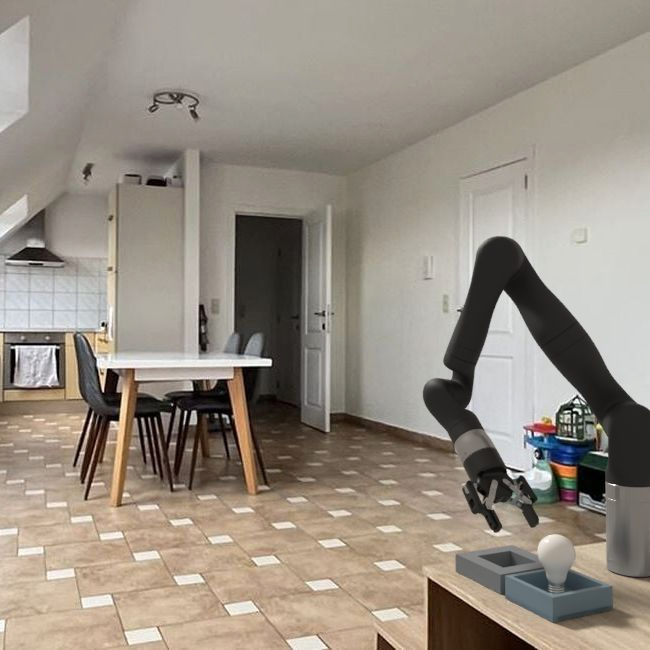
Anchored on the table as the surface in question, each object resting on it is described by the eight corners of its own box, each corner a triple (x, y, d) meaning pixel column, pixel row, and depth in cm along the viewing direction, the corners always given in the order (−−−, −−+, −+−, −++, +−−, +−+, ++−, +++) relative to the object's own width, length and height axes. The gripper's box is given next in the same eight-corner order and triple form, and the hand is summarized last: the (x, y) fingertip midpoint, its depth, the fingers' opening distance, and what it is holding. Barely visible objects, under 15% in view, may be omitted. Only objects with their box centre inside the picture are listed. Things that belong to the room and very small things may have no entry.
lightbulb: (578, 606, 121) (578, 540, 121) (539, 603, 122) (538, 538, 122) (573, 594, 127) (572, 531, 127) (535, 591, 128) (535, 529, 129)
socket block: (512, 562, 148) (512, 545, 148) (560, 583, 135) (560, 564, 135) (455, 571, 142) (455, 553, 142) (500, 594, 129) (500, 574, 129)
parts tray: (562, 587, 132) (562, 565, 133) (612, 609, 122) (612, 586, 122) (505, 598, 127) (505, 575, 127) (552, 622, 116) (552, 597, 116)
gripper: (457, 448, 139) (495, 521, 129) (516, 443, 145) (557, 512, 135) (442, 471, 144) (477, 543, 133) (499, 465, 150) (537, 534, 139)
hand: (517, 527), depth 134 cm, fingers open, 8 cm apart
